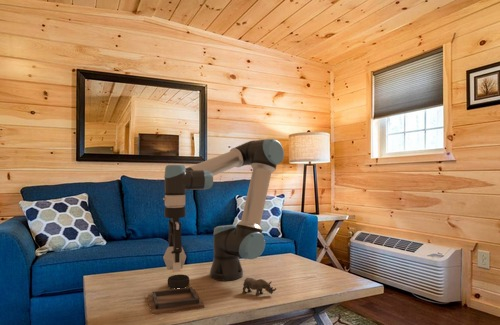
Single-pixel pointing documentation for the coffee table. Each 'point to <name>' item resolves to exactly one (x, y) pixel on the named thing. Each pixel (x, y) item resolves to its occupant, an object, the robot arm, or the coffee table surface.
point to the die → (169, 258)
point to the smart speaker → (178, 281)
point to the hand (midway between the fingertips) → (174, 267)
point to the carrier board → (174, 300)
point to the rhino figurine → (257, 286)
